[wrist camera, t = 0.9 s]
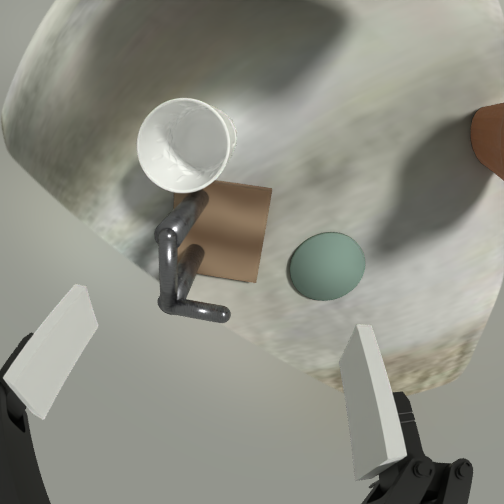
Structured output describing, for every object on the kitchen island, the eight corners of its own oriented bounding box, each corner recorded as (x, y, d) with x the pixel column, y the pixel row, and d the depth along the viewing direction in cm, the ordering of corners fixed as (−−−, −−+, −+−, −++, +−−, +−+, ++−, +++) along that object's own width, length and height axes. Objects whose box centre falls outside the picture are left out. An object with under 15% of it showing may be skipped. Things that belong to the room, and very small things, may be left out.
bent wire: (189, 187, 30) (150, 224, 20) (250, 195, 30) (240, 238, 20) (186, 259, 35) (155, 317, 25) (240, 268, 35) (228, 330, 25)
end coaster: (299, 225, 33) (299, 227, 33) (373, 239, 33) (374, 241, 33) (283, 293, 38) (283, 295, 37) (350, 301, 38) (351, 304, 38)
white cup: (199, 183, 32) (172, 210, 23) (162, 130, 29) (120, 139, 20) (256, 146, 29) (249, 158, 20) (217, 90, 27) (192, 78, 18)
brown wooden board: (178, 176, 31) (174, 179, 30) (271, 188, 31) (271, 191, 30) (176, 263, 37) (172, 269, 36) (256, 276, 37) (256, 282, 36)
